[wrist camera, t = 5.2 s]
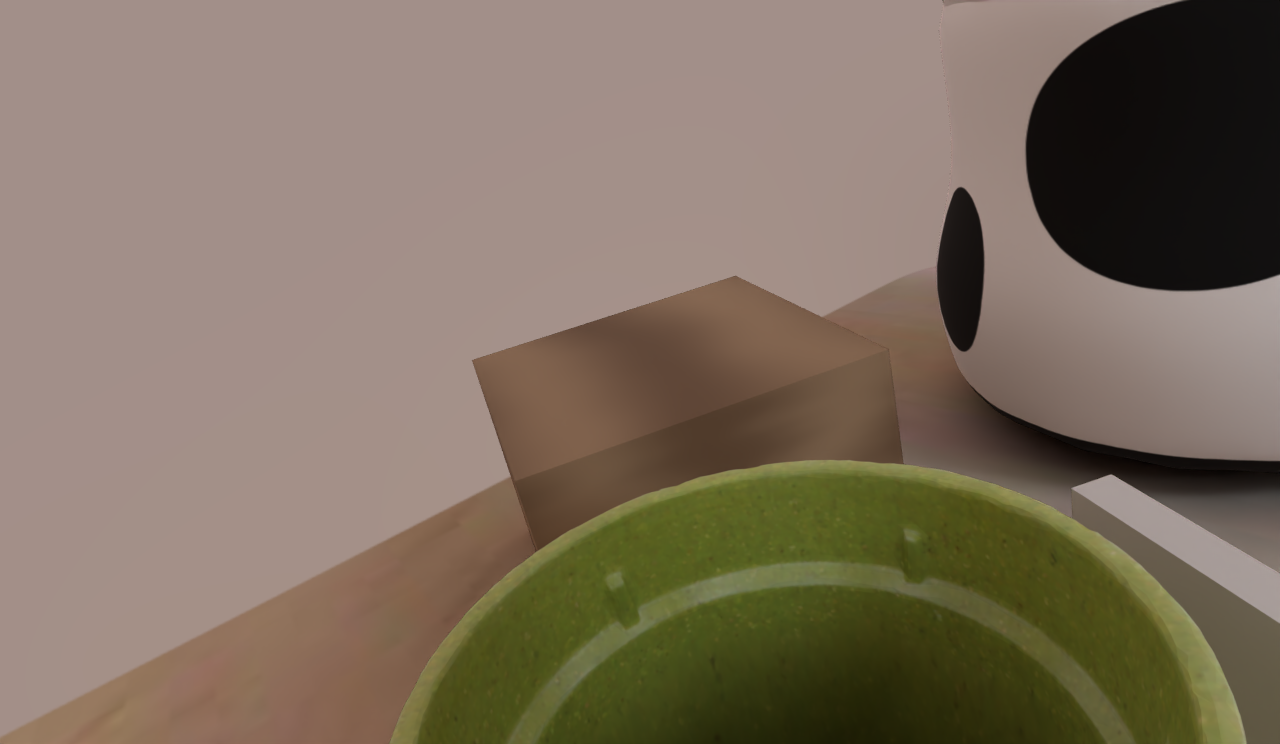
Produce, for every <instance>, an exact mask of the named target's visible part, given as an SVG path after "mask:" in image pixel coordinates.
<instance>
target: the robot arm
mask: <svg viewBox="0 0 1280 744" xmlns="http://www.w3.org/2000/svg"><path fill="white" fill-rule="evenodd" d="M1071 497H1072V519H1074V520H1076V521H1077V522H1079V523H1080V524H1082V525H1083V526H1085V527H1086V528H1088V529H1089V530H1092V531H1095V532H1098V533H1099V534H1100V535H1102V536H1103V537H1104V538H1105V539H1107V540H1109V541H1110V542H1112V543H1114V544H1115V545H1116V546H1118V547H1119V548H1120V549H1122V550H1123V551H1124V552H1126V553H1127V554H1128V555H1129V556H1130V557H1132V558H1133V559H1134V560H1135V561H1136V562H1137V563H1139V564H1140V565H1142V567H1143V568H1144V569H1145V570H1146V571H1147V572H1148V573H1149V574H1151V575H1152V576H1153V577H1154V578H1155V579H1156V580H1157V581H1158V582H1159V584H1160V585H1161V586H1162V587H1163V588H1164V589H1165V590H1166V591H1167V592H1168V593H1169V594H1170V595H1171V596H1172V597H1173V598H1174V599H1175V600H1176V601H1177V602H1178V603H1179V604H1180V605H1181V606H1182V607H1183V609H1184V610H1185V611H1186V612H1187V614H1188V615H1189V616H1190V617H1191V619H1192V620H1193V621H1194V622H1195V624H1196V625H1197V626H1198V627H1199V629H1200V630H1201V632H1202V634H1203V636H1204V638H1205V639H1206V641H1207V643H1208V644H1209V646H1210V647H1211V649H1212V650H1213V652H1214V654H1215V656H1216V658H1217V660H1218V662H1219V664H1220V666H1221V668H1222V671H1223V673H1224V675H1225V678H1226V680H1227V682H1228V685H1229V687H1230V689H1231V691H1232V694H1233V696H1234V699H1235V702H1236V704H1237V707H1238V710H1239V713H1240V716H1241V720H1242V724H1243V728H1244V732H1245V735H1246V742H1247V744H1280V573H1279V572H1277V571H1275V570H1273V569H1272V568H1270V567H1268V566H1267V565H1265V564H1263V563H1261V562H1260V561H1258V560H1256V559H1255V558H1253V557H1251V556H1250V555H1248V554H1246V553H1244V552H1243V551H1241V550H1239V549H1238V548H1236V547H1234V546H1233V545H1231V544H1229V543H1227V542H1226V541H1224V540H1222V539H1221V538H1219V537H1217V536H1216V535H1214V534H1212V533H1210V532H1209V531H1207V530H1205V529H1204V528H1202V527H1200V526H1199V525H1197V524H1195V523H1193V522H1192V521H1190V520H1188V519H1187V518H1185V517H1183V516H1181V515H1180V514H1178V513H1176V512H1175V511H1173V510H1171V509H1170V508H1168V507H1166V506H1164V505H1163V504H1161V503H1159V502H1158V501H1156V500H1154V499H1153V498H1151V497H1149V496H1147V495H1146V494H1144V493H1142V492H1141V491H1139V490H1137V489H1136V488H1134V487H1132V486H1130V485H1129V484H1127V483H1125V482H1124V481H1122V480H1120V479H1119V478H1117V477H1115V476H1113V475H1112V474H1111V475H1108V476H1105V477H1102V478H1099V479H1096V480H1093V481H1090V482H1087V483H1085V484H1082V485H1079V486H1076V487H1073V488H1071Z"/></svg>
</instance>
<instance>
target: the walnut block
mask: <svg viewBox="0 0 1280 744" xmlns="http://www.w3.org/2000/svg"><path fill="white" fill-rule="evenodd" d="M472 361H473V364H474V367H475V370H476V373H477V376H478V379H479V382H480V385H481V388H482V391H483V394H484V397H485V400H486V403H487V406H488V409H489V412H490V415H491V418H492V421H493V424H494V427H495V430H496V433H497V436H498V439H499V442H500V445H501V448H502V451H503V454H504V457H505V460H506V463H507V466H508V469H509V472H510V475H511V478H512V481H513V484H514V487H515V490H516V493H517V496H518V499H519V502H520V505H521V508H522V511H523V514H524V517H525V520H526V523H527V526H528V529H529V532H530V535H531V538H532V541H533V543H534V546H535V549H536V552H537V551H538V550H540V549H542V548H543V547H545V546H546V545H548V544H549V543H551V542H552V541H554V540H555V539H557V538H558V537H560V536H561V535H563V534H564V533H566V532H568V531H569V530H571V529H573V528H576V527H578V526H580V525H582V524H583V523H585V522H587V521H589V520H591V519H593V518H595V517H597V516H599V515H601V514H603V513H605V512H606V511H608V510H610V509H613V508H615V507H617V506H619V505H621V504H623V503H625V502H628V501H630V500H633V499H635V498H637V497H640V496H642V495H645V494H647V493H650V492H655V491H659V490H661V489H664V488H668V487H673V486H678V485H680V484H682V483H684V482H687V481H690V480H693V479H695V478H698V477H702V476H708V475H713V474H717V473H721V472H725V471H729V470H735V469H748V468H754V467H758V466H761V465H766V464H774V463H783V462H795V461H805V460H837V461H840V460H852V461H860V462H875V463H895V464H903V456H902V449H901V441H900V433H899V425H898V418H897V410H896V402H895V394H894V387H893V379H892V371H891V363H890V356H889V349H887V348H885V347H883V346H881V345H879V344H877V343H874V342H872V341H870V340H868V339H866V338H864V337H862V336H860V335H858V334H856V333H854V332H852V331H849V330H847V329H845V328H843V327H841V326H839V325H837V324H835V323H833V322H831V321H829V320H826V319H824V318H822V317H820V316H818V315H816V314H814V313H812V312H810V311H808V310H806V309H804V308H801V307H799V306H797V305H795V304H793V303H791V302H789V301H787V300H785V299H783V298H781V297H779V296H776V295H774V294H772V293H770V292H768V291H766V290H764V289H761V288H760V287H758V286H756V285H753V284H751V283H749V282H747V281H745V280H743V279H741V278H739V277H737V276H734V277H731V278H727V279H724V280H721V281H718V282H715V283H712V284H709V285H705V286H702V287H699V288H696V289H693V290H690V291H687V292H684V293H680V294H677V295H674V296H671V297H668V298H665V299H662V300H659V301H656V302H652V303H649V304H646V305H643V306H640V307H637V308H634V309H630V310H627V311H624V312H621V313H618V314H615V315H612V316H609V317H606V318H602V319H599V320H597V321H593V322H590V323H587V324H584V325H580V326H578V327H574V328H571V329H568V330H565V331H562V332H559V333H555V334H552V335H549V336H546V337H543V338H540V339H537V340H534V341H531V342H527V343H524V344H521V345H518V346H515V347H512V348H509V349H506V350H502V351H499V352H496V353H493V354H490V355H487V356H483V357H480V358H477V359H474V360H472Z"/></svg>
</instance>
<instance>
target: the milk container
mask: <svg viewBox="0 0 1280 744" xmlns="http://www.w3.org/2000/svg"><path fill="white" fill-rule="evenodd" d="M939 35H940V44H941V53H942V62H943V69H944V77H945V84H946V92H947V100H948V107H949V117H950V131H951V173H950V182H949V189H948V195H947V200H946V206H945V211H944V216H943V222H942V227H941V232H940V238H939V245H938V253H937V261H936V284H937V293H938V301H939V307H940V312H941V316H942V321H943V325H944V329H945V332H946V335H947V338H948V342H949V345H950V347H951V350H952V353H953V356H954V359H955V361H956V364H957V366H958V368H959V370H960V371H961V373H962V374H963V376H964V377H965V379H966V380H967V382H968V383H969V384H970V386H971V387H972V388H973V389H974V391H975V392H976V393H977V394H978V395H980V396H981V397H982V398H983V399H984V400H985V401H986V402H987V403H988V404H989V405H990V406H991V407H993V408H994V409H995V410H997V411H998V412H999V413H1001V414H1002V415H1004V416H1006V417H1008V418H1010V419H1011V420H1013V421H1015V422H1017V423H1019V424H1022V425H1024V426H1027V427H1029V428H1032V429H1034V430H1037V431H1039V432H1041V433H1044V434H1046V435H1049V436H1051V437H1053V438H1056V439H1058V440H1061V441H1063V442H1065V443H1068V444H1070V445H1072V446H1075V447H1077V448H1079V449H1082V450H1086V451H1091V452H1096V453H1101V454H1106V455H1112V456H1119V457H1125V458H1131V459H1135V460H1139V461H1144V462H1148V463H1152V464H1157V465H1162V466H1167V467H1172V468H1177V469H1201V470H1240V471H1254V472H1274V473H1280V0H943V9H942V16H941V22H940V28H939Z"/></svg>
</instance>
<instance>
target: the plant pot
mask: <svg viewBox="0 0 1280 744" xmlns="http://www.w3.org/2000/svg"><path fill="white" fill-rule="evenodd" d="M389 744H1247V742H1246V735H1245V732H1244V728H1243V724H1242V720H1241V716H1240V713H1239V710H1238V707H1237V704H1236V702H1235V699H1234V696H1233V694H1232V691H1231V689H1230V687H1229V685H1228V682H1227V680H1226V678H1225V675H1224V673H1223V671H1222V668H1221V666H1220V664H1219V662H1218V660H1217V658H1216V656H1215V654H1214V652H1213V650H1212V649H1211V647H1210V646H1209V644H1208V643H1207V641H1206V639H1205V638H1204V636H1203V634H1202V632H1201V630H1200V629H1199V627H1198V626H1197V625H1196V624H1195V622H1194V621H1193V620H1192V619H1191V617H1190V616H1189V615H1188V614H1187V612H1186V611H1185V610H1184V609H1183V607H1182V606H1181V605H1180V604H1179V603H1178V602H1177V601H1176V600H1175V599H1174V598H1173V597H1172V596H1171V595H1170V594H1169V593H1168V592H1167V591H1166V590H1165V589H1164V588H1163V587H1162V586H1161V585H1160V584H1159V582H1158V581H1157V580H1156V579H1155V578H1154V577H1153V576H1152V575H1151V574H1149V573H1148V572H1147V571H1146V570H1145V569H1144V568H1143V567H1142V565H1140V564H1139V563H1137V562H1136V561H1135V560H1134V559H1133V558H1132V557H1130V556H1129V555H1128V554H1127V553H1126V552H1124V551H1123V550H1122V549H1120V548H1119V547H1118V546H1116V545H1115V544H1114V543H1112V542H1110V541H1109V540H1107V539H1105V538H1104V537H1103V536H1102V535H1100V534H1099V533H1098V532H1095V531H1092V530H1089V529H1088V528H1086V527H1085V526H1083V525H1082V524H1080V523H1079V522H1077V521H1076V520H1074V519H1072V518H1070V517H1068V516H1066V515H1064V514H1062V513H1061V512H1059V511H1057V510H1056V509H1054V508H1053V507H1051V506H1049V505H1046V504H1044V503H1042V502H1040V501H1038V500H1035V499H1033V498H1030V497H1028V496H1026V495H1023V494H1021V493H1018V492H1016V491H1013V490H1010V489H1006V488H1004V487H1001V486H999V485H997V484H993V483H989V482H985V481H982V480H978V479H975V478H971V477H968V476H964V475H961V474H957V473H953V472H949V471H945V470H940V469H934V468H925V467H920V466H914V465H904V464H895V463H875V462H860V461H852V460H840V461H837V460H805V461H795V462H783V463H774V464H766V465H761V466H758V467H754V468H748V469H735V470H729V471H725V472H721V473H717V474H713V475H708V476H702V477H698V478H695V479H693V480H690V481H687V482H684V483H682V484H680V485H678V486H673V487H668V488H664V489H661V490H659V491H655V492H650V493H647V494H645V495H642V496H640V497H637V498H635V499H633V500H630V501H628V502H625V503H623V504H621V505H619V506H617V507H615V508H613V509H610V510H608V511H606V512H605V513H603V514H601V515H599V516H597V517H595V518H593V519H591V520H589V521H587V522H585V523H583V524H582V525H580V526H578V527H576V528H573V529H571V530H569V531H568V532H566V533H564V534H563V535H561V536H560V537H558V538H557V539H555V540H554V541H552V542H551V543H549V544H548V545H546V546H545V547H543V548H542V549H540V550H538V551H537V552H535V553H534V554H533V555H532V556H530V557H529V558H527V559H526V560H525V561H524V562H523V563H521V564H520V565H518V566H516V567H515V568H514V569H513V570H511V571H510V572H509V573H508V574H507V575H505V576H504V577H503V578H502V579H501V580H500V581H499V582H498V583H496V584H495V585H493V587H492V588H491V589H490V590H489V591H488V592H487V593H486V594H485V595H484V596H483V597H482V598H481V599H480V600H479V601H477V602H476V603H475V604H474V605H473V606H472V607H471V608H470V609H469V610H468V611H467V613H466V614H465V615H464V616H463V618H462V619H461V620H460V621H459V623H458V624H457V625H456V626H455V627H454V628H453V629H452V631H451V632H450V633H449V634H448V636H447V637H446V638H445V639H444V640H443V641H442V643H441V644H440V646H439V647H438V649H437V650H436V651H435V653H434V654H433V655H432V657H431V658H430V659H429V661H428V663H427V665H426V666H425V668H424V669H423V671H422V672H421V674H420V677H419V679H418V681H417V683H416V685H415V687H414V689H413V691H412V692H411V694H410V696H409V698H408V699H407V701H406V703H405V705H404V707H403V710H402V712H401V714H400V716H399V719H398V722H397V724H396V727H395V730H394V732H393V735H392V738H391V740H390V742H389Z"/></svg>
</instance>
